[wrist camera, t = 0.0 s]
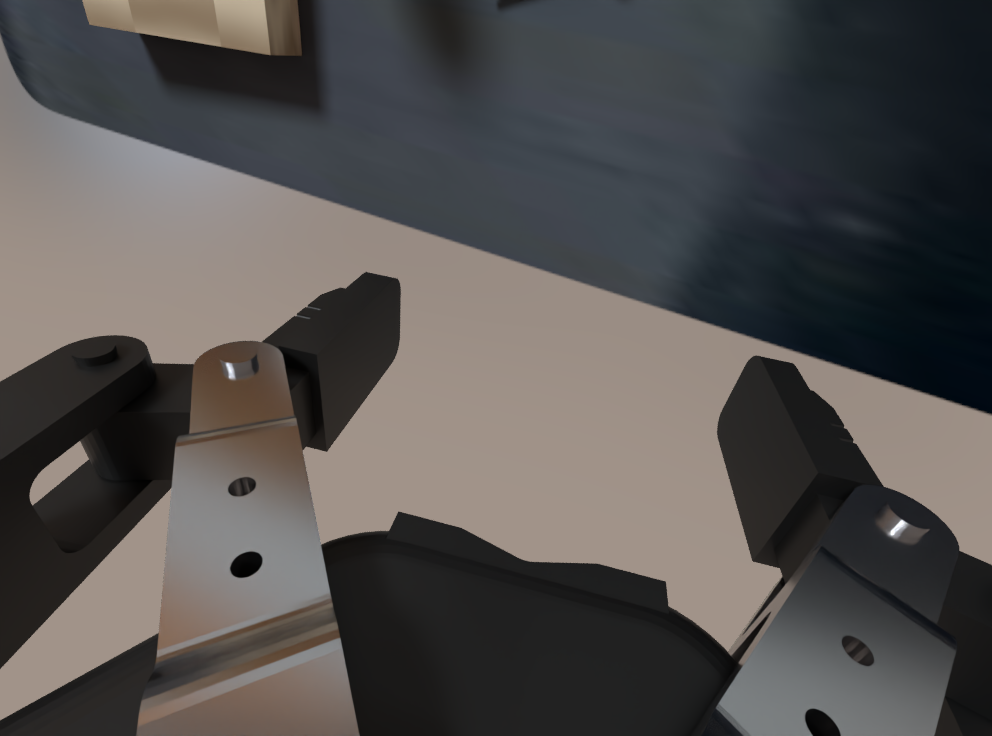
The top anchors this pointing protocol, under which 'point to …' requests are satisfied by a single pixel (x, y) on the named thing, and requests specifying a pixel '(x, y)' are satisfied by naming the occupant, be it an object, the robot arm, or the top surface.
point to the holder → (207, 22)
